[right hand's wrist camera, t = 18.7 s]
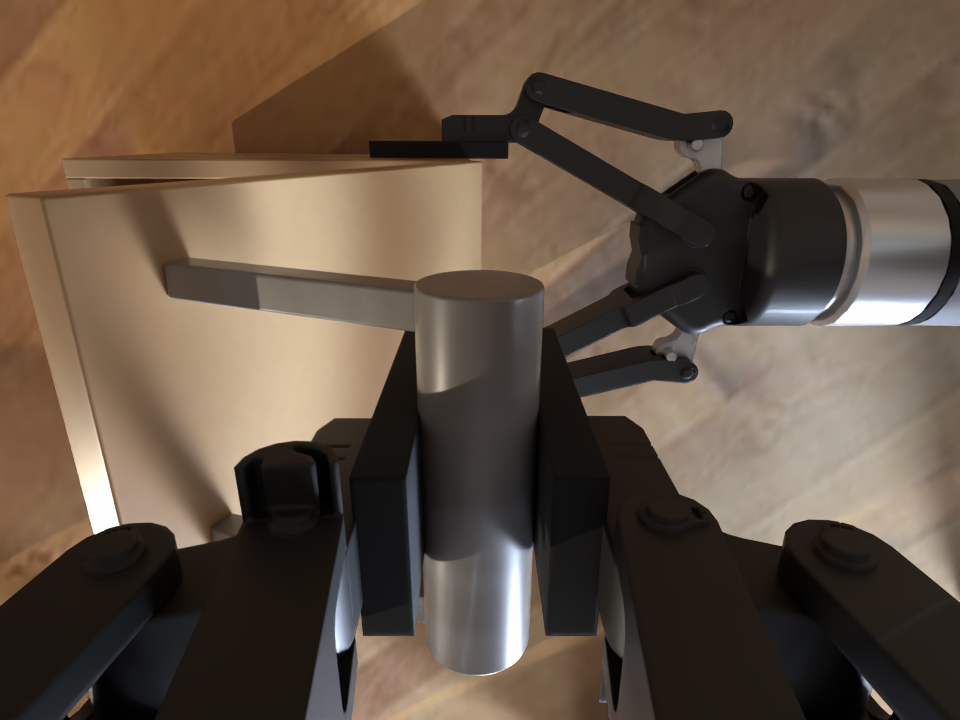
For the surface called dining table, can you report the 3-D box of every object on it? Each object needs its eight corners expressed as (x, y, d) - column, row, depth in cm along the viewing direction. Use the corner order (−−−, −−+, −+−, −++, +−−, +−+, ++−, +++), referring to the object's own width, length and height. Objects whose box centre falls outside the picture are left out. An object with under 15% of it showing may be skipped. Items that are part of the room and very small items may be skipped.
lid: (121, 647, 13) (480, 807, 10) (1, 193, 10) (485, 223, 7) (462, 370, 28) (642, 399, 25) (461, 160, 25) (668, 165, 22)
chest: (200, 309, 38) (109, 373, 28) (174, 152, 35) (61, 158, 24) (464, 307, 39) (471, 368, 29) (464, 154, 35) (471, 160, 25)
